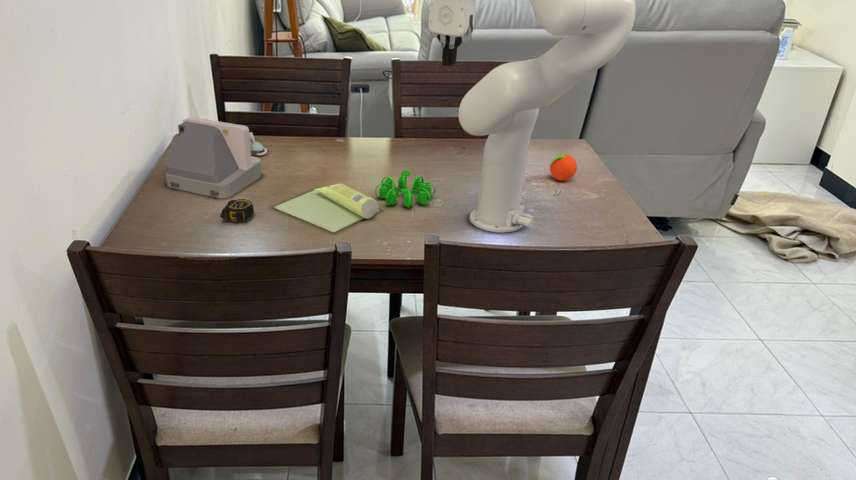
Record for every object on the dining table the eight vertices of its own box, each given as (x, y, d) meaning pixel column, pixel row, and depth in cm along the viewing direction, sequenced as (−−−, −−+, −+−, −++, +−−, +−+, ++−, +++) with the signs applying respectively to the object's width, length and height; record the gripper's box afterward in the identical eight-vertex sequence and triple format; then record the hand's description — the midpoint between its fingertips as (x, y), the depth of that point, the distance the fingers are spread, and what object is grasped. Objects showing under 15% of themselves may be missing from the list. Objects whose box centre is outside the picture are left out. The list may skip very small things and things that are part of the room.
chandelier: (410, 216, 159) (412, 189, 156) (362, 199, 168) (363, 173, 164) (446, 197, 169) (448, 171, 166) (399, 182, 178) (400, 157, 174)
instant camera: (270, 178, 179) (267, 122, 172) (215, 203, 164) (209, 144, 157) (213, 161, 189) (207, 108, 182) (156, 184, 175) (147, 128, 167)
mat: (379, 210, 162) (379, 209, 162) (334, 232, 151) (334, 231, 151) (319, 189, 173) (319, 187, 173) (273, 208, 163) (273, 206, 163)
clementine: (555, 186, 176) (559, 160, 172) (539, 177, 182) (543, 152, 178) (580, 182, 179) (584, 157, 175) (563, 173, 184) (568, 148, 181)
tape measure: (230, 211, 161) (229, 196, 159) (258, 213, 160) (256, 198, 158) (220, 223, 155) (219, 208, 153) (249, 225, 154) (248, 210, 152)
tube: (372, 224, 158) (329, 199, 172) (384, 205, 158) (340, 183, 172) (357, 213, 154) (314, 189, 169) (368, 194, 154) (325, 172, 168)
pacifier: (268, 149, 199) (247, 148, 199) (267, 128, 196) (246, 128, 196) (266, 157, 193) (245, 157, 192) (266, 136, 190) (244, 136, 189)
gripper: (418, -21, 152) (413, 62, 161) (474, -15, 143) (466, 73, 153) (437, -24, 157) (432, 57, 166) (493, -18, 148) (484, 67, 158)
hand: (448, 64), depth 159 cm, fingers closed
